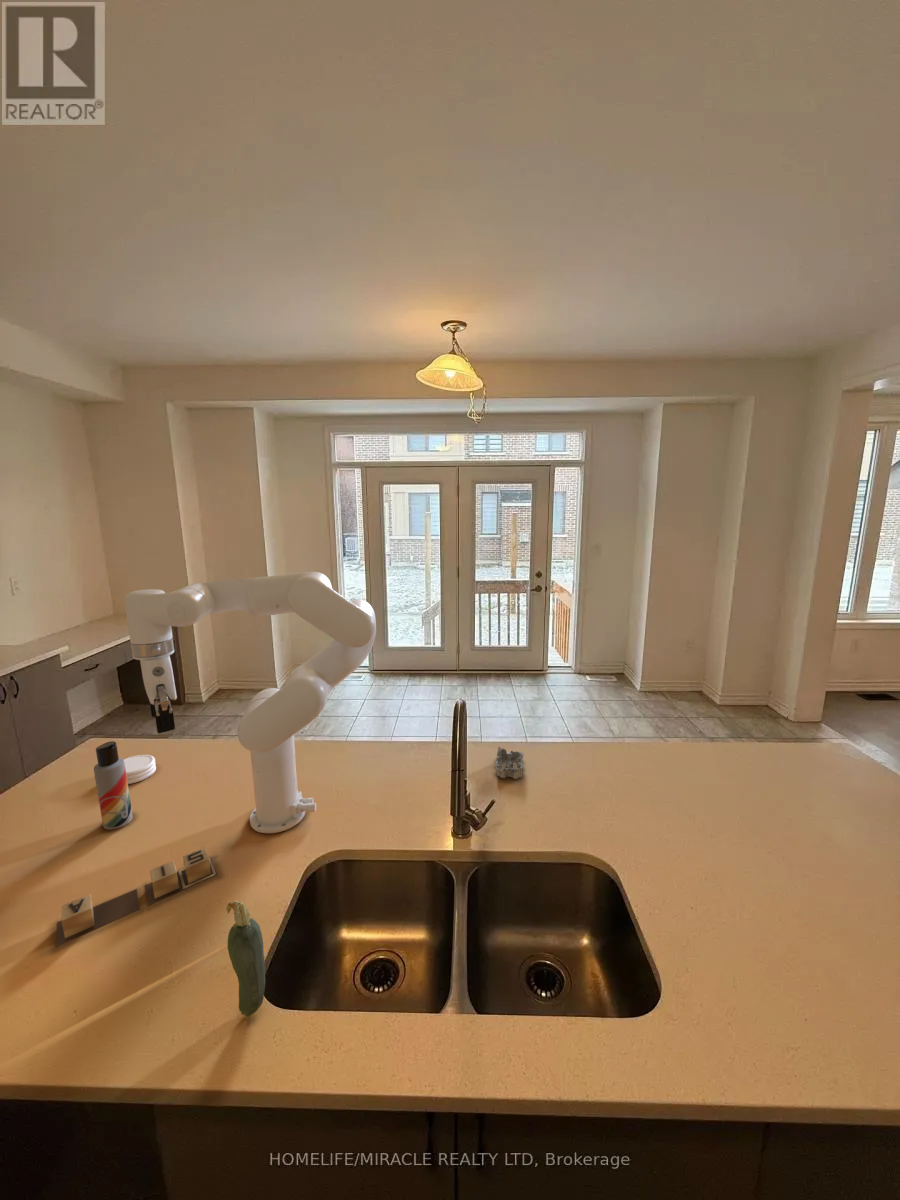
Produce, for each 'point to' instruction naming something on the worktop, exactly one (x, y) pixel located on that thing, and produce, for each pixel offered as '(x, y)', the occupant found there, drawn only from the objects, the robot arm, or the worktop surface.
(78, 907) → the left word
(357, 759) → the worktop surface
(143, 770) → the coaster
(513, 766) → the egg carton
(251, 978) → the vegetable
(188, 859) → the tile
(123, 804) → the lotion bottle
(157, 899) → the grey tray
